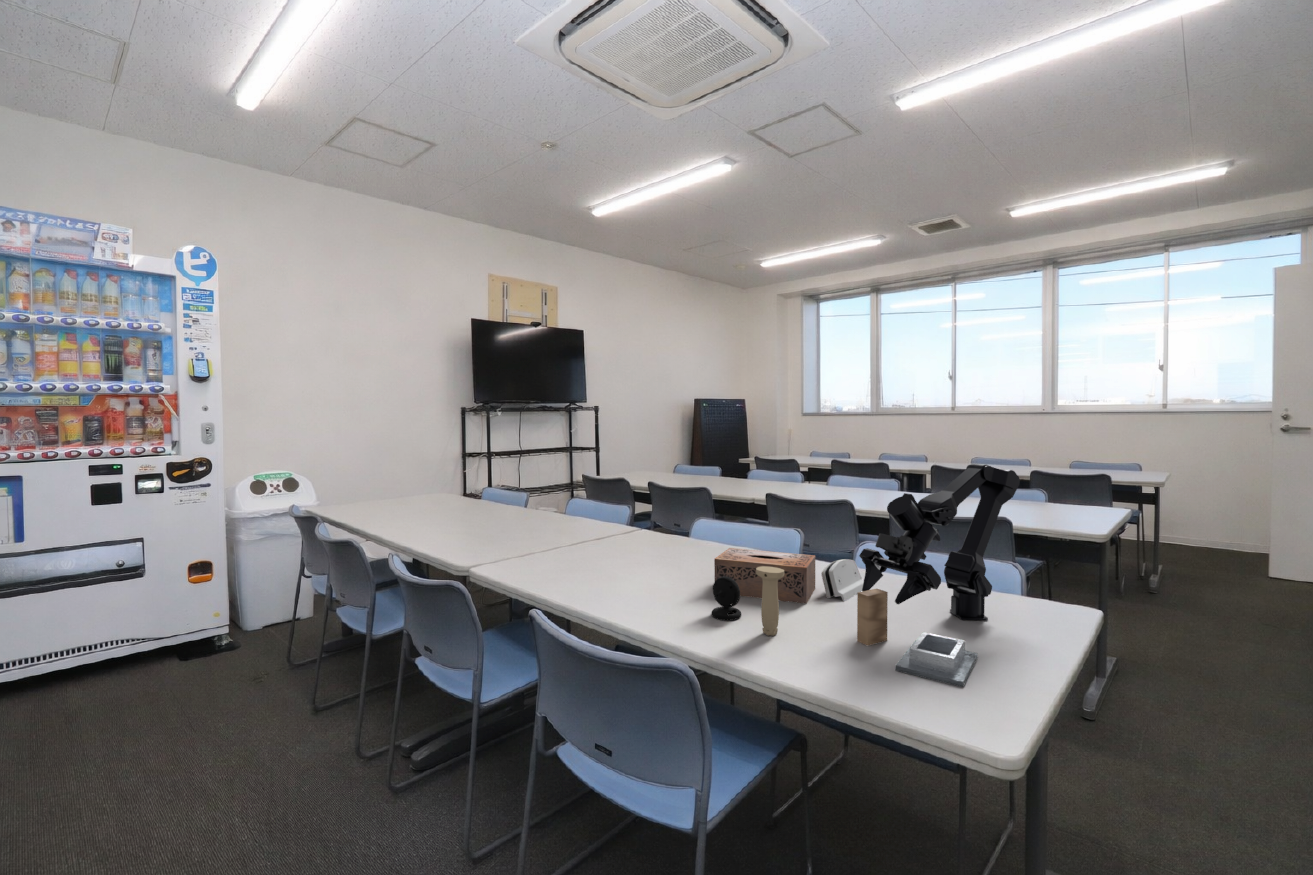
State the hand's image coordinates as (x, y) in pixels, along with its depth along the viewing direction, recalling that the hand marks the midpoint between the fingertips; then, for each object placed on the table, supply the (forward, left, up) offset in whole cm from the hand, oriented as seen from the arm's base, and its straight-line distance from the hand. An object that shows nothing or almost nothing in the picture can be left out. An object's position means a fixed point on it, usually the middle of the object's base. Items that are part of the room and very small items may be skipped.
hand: (879, 597), depth 131 cm
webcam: (+33, -15, -10) cm, 37 cm away
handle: (+24, -3, -10) cm, 26 cm away
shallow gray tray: (-7, +13, -9) cm, 18 cm away
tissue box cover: (+20, -36, -10) cm, 42 cm away
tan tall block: (+2, +1, -9) cm, 10 cm away
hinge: (-2, -35, -10) cm, 36 cm away
